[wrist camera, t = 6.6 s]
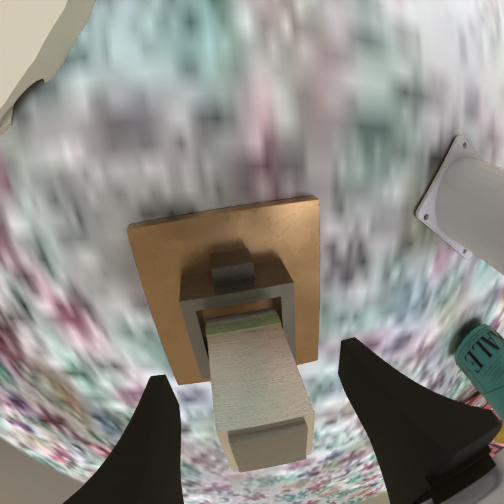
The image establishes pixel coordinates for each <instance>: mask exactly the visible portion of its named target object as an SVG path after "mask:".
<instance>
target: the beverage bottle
mask: <svg viewBox="0 0 504 504" xmlns="http://www.w3.org/2000/svg"><path fill="white" fill-rule="evenodd" d="M493 329H494V328H493ZM493 329H492V328H491V327H490V326H488V325H486V324H482V325H480V326H478V327H476V328H475V329H473V330H472V331H471V332H470V333H469V334H468V335H467V336H466V337H465V338H464V340H463V341H462V342H461V344H460V345H459V347H458V349H457V351H456V354H455V361H456V365H458V366H459V368H460V370H462V371H463V372H464V374H465V377H466V376H467V377H468V378H469V380H470V381H471V382H472V383H473V385H474V386H475V387H476V388H477V390H478V391H479V392H480V393H481V395H483V396H484V398H485V399H486V400H487V402H488V403H489V404H490V406H491V407H492V408H493V410H494V411H495V412H496V414H497V415H498V416H499V418H500V419H501V420H502V422H503V423H504V339H503V338H502V337H501V336H500V335H499V333H497V332H496V330H493ZM478 391H477V392H478Z"/></svg>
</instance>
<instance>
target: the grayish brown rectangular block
mask: <svg viewBox="0 0 504 504" xmlns="http://www.w3.org/2000/svg"><path fill="white" fill-rule="evenodd" d="M206 337H207V341H208V352H209V363H210V374H211V385H212V395H213V405H214V414H215V423H216V432H217V435H218V437H219V440H220V443H221V445H222V448H223V450H224V452H225V455H226V457H227V460H228V462H229V465H230V467H231V469H232V470H234V469H239V472H245V471H252V470H257V469H263V468H268V467H273V466H278V465H283V464H287V463H292V462H296V461H300V460H304V459H306V455H309V454H311V450H312V440H313V430H314V419H315V412H314V409H313V407H312V404H311V401H310V399H309V396H308V394H307V391H306V388H305V386H304V383H303V381H302V378H301V375H300V373H299V370H298V368H297V365H296V363H295V360H294V357H293V355H292V352H291V350H290V347H289V344H288V342H287V339H286V337H285V334H284V331H283V329H282V326H281V321H280V318H279V315H278V314H277V313H276V311H275V308H274V307H269V308H264V309H258V310H253V311H247V312H241V313H235V314H229V315H223V316H217V317H211V318H206Z"/></svg>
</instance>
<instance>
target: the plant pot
mask: <svg viewBox="0 0 504 504" xmlns="http://www.w3.org/2000/svg"><path fill="white" fill-rule="evenodd" d="M494 439H495V442H496V443H502V444H504V426H503V425H502V428H501V430H500V431H499V433H498V434H497V435H496V437H495V438H494Z"/></svg>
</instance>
